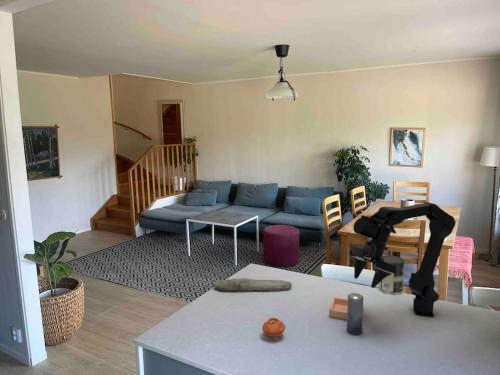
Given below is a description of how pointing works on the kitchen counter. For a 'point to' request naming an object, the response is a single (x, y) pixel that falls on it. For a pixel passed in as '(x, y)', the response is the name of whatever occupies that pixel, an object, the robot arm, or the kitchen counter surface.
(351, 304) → the dark grey cylinder
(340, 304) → the terracotta bin
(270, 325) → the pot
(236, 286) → the elongated rock
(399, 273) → the coffee can
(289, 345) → the kitchen counter surface
